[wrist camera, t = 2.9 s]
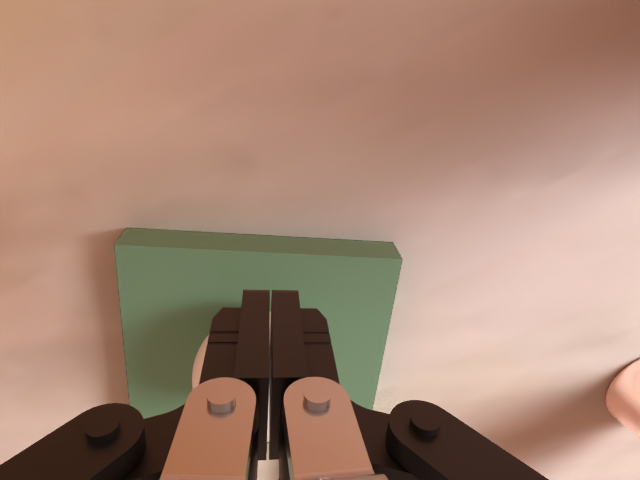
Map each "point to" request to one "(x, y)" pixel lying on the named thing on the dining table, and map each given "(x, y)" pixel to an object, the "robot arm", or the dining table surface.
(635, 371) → the beer glass
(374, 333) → the putting mat
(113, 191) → the dining table surface
